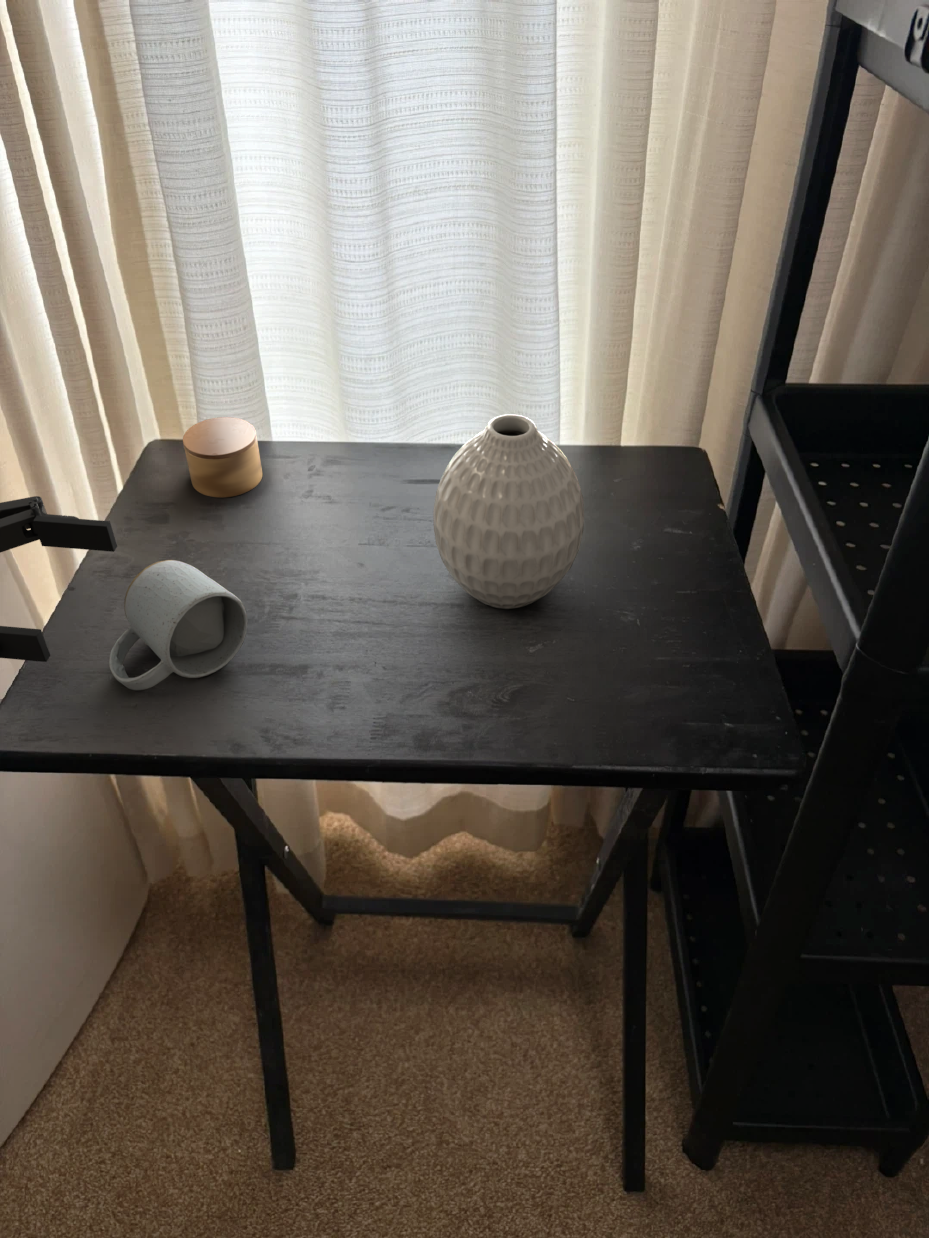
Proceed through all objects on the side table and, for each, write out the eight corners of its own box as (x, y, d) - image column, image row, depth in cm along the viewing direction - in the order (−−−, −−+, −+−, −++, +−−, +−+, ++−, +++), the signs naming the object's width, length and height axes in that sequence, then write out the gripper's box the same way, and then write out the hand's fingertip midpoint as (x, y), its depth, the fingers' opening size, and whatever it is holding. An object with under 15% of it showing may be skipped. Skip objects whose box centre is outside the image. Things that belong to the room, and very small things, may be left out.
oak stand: (193, 502, 103) (184, 459, 100) (189, 463, 108) (180, 422, 105) (266, 491, 104) (259, 449, 101) (258, 454, 109) (252, 412, 106)
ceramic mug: (201, 603, 91) (183, 535, 86) (256, 648, 87) (241, 579, 82) (94, 664, 86) (68, 595, 81) (147, 715, 82) (123, 645, 76)
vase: (476, 653, 87) (478, 488, 75) (411, 567, 95) (404, 408, 84) (605, 606, 91) (624, 444, 80) (532, 528, 99) (539, 372, 88)
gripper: (-73, 514, 97) (145, 531, 94) (-242, 709, 78) (24, 735, 76) (-103, 446, 92) (126, 462, 89) (-291, 636, 73) (-7, 662, 71)
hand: (80, 588), depth 83 cm, fingers open, 13 cm apart
